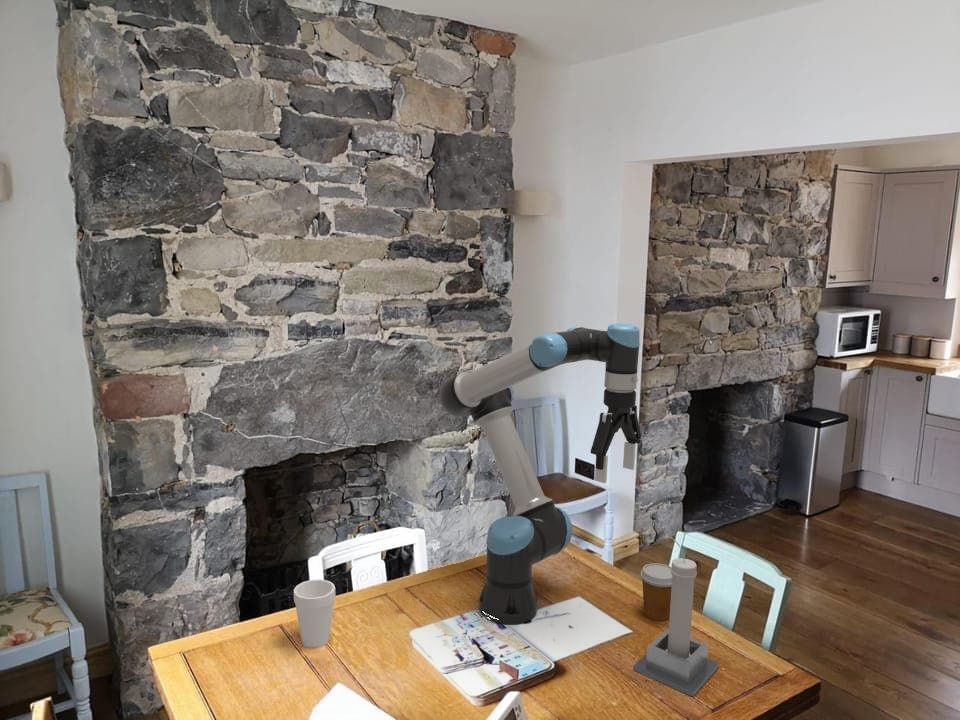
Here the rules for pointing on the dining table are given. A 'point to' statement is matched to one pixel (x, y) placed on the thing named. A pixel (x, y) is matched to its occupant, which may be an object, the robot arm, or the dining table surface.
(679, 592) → the pipe
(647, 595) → the disposable coffee cup
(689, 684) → the pipe socket
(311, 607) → the foam cup
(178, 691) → the dining table surface
